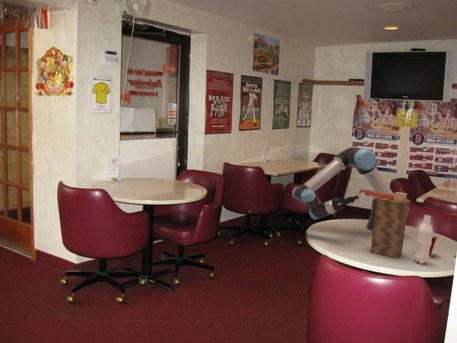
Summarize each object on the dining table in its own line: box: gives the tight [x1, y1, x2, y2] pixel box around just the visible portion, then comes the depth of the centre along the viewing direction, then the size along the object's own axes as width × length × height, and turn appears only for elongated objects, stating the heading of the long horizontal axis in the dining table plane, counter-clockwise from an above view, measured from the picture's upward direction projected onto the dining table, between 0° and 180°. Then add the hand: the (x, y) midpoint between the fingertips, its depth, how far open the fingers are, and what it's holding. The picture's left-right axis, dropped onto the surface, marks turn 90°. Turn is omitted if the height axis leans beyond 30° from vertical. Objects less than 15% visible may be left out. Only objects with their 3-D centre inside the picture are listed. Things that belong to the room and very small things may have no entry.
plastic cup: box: [416, 231, 439, 257], centre depth 250 cm, size 11×11×12 cm
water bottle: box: [414, 214, 434, 265], centre depth 235 cm, size 7×7×25 cm
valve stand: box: [370, 197, 411, 259], centre depth 246 cm, size 15×11×30 cm
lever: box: [358, 188, 408, 202], centre depth 247 cm, size 24×5×4 cm, turn 56°
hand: (368, 192), depth 251 cm, fingers open, 13 cm apart
